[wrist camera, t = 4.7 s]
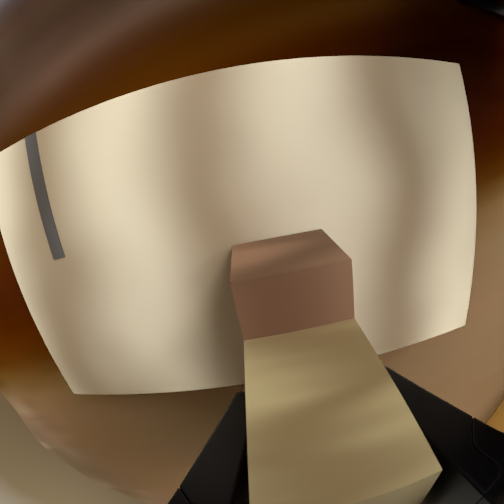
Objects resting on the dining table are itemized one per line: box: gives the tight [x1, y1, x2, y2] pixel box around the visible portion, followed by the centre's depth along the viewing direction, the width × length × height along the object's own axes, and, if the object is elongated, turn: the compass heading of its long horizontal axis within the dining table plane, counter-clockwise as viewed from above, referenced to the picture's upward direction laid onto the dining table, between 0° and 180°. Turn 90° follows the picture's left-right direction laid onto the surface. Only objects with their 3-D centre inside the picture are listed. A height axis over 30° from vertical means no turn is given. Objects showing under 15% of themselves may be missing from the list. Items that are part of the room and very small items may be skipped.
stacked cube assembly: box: [230, 229, 442, 504], centre depth 9 cm, size 5×8×10 cm, turn 10°
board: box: [0, 56, 476, 395], centre depth 12 cm, size 20×12×3 cm, turn 100°
